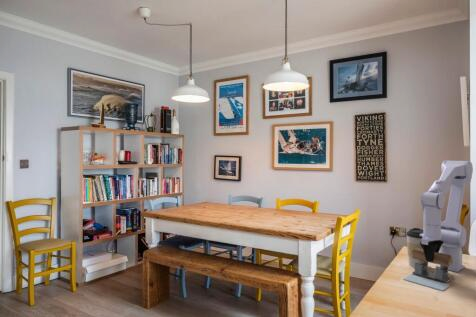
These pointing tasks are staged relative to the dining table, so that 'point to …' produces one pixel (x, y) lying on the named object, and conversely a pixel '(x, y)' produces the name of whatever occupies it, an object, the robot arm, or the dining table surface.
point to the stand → (439, 274)
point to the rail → (438, 257)
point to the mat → (427, 282)
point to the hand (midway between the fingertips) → (431, 260)
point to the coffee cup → (413, 244)
